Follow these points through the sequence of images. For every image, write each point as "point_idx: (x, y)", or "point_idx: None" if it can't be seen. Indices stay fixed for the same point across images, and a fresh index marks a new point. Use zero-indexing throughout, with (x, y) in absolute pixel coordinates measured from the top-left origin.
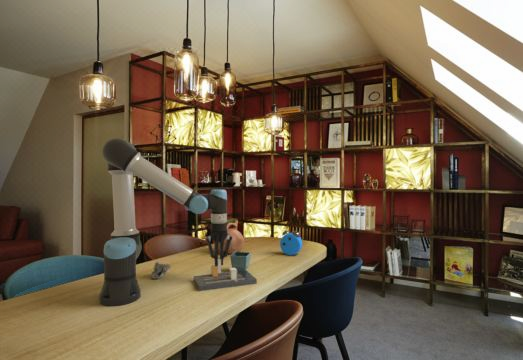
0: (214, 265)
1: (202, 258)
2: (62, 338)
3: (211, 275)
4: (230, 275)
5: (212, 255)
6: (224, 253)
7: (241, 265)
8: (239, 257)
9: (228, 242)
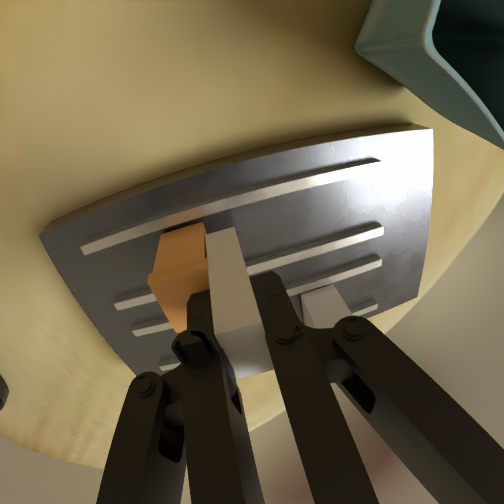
0: (183, 271)
1: None
2: (35, 443)
3: (161, 225)
4: (309, 322)
5: (173, 436)
6: (356, 358)
7: (433, 105)
8: (478, 116)
9: (453, 502)
